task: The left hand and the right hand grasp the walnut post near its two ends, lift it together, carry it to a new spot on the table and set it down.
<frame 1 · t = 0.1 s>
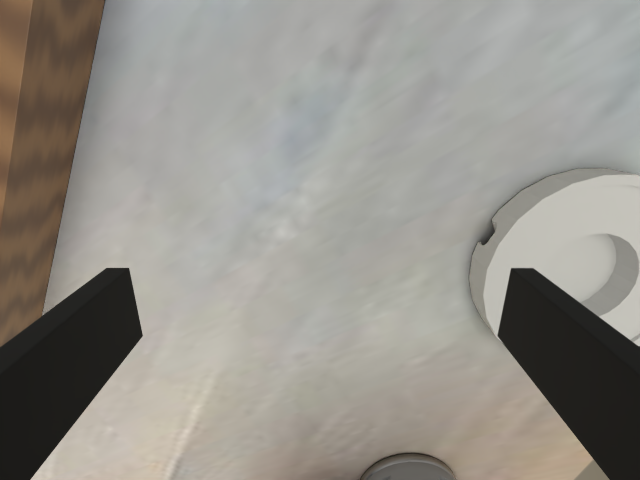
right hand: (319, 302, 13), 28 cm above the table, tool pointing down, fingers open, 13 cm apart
ashtray: (566, 265, 43), on the table
post: (35, 240, 42), on the table
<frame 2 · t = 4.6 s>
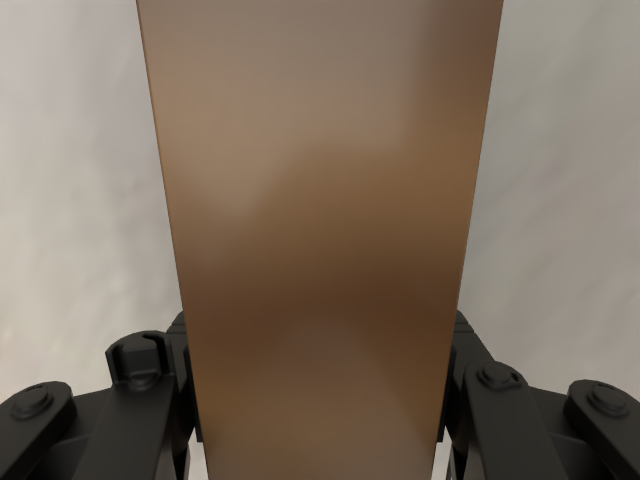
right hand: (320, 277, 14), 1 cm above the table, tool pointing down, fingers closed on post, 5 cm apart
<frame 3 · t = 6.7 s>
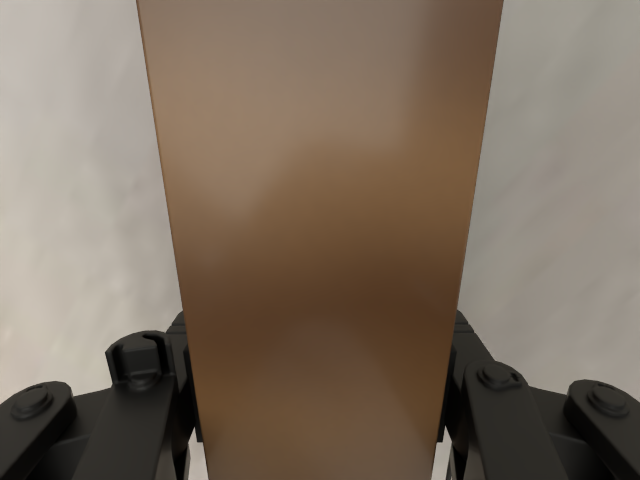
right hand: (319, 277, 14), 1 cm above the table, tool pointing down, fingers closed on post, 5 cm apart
when the right hand's fingers open (2 cm above the table, at t = 10.8 s): post drops 1 cm, on the table.
when the left hand's fingers open (5 cm above the table, at t = 11.0 s): post stays where it is, on the table.
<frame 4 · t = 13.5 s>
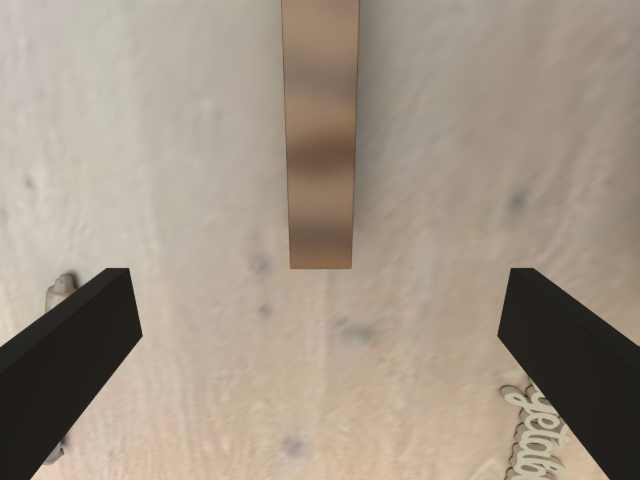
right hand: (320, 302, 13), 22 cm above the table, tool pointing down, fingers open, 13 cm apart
decorative sign: (534, 423, 43), on the table
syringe: (65, 369, 40), on the table
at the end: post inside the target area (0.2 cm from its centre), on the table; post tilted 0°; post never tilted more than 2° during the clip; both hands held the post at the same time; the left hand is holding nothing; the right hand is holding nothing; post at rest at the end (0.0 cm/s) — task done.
